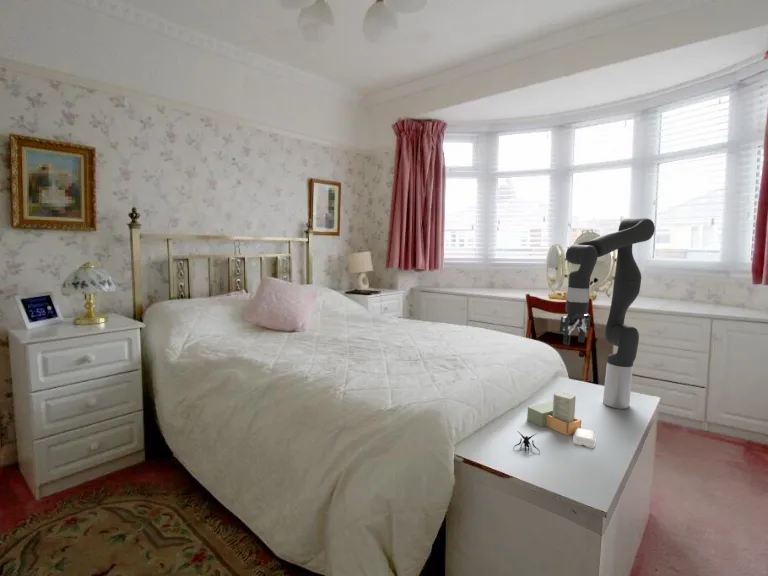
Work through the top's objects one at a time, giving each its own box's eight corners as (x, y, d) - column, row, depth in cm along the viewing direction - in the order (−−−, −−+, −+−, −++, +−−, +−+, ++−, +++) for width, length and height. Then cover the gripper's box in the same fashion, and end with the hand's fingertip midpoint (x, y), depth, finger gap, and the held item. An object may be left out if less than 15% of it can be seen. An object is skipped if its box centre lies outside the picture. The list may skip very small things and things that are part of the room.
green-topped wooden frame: (548, 413, 161) (549, 401, 161) (584, 429, 148) (585, 416, 148) (527, 420, 155) (528, 407, 154) (562, 437, 142) (563, 423, 142)
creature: (540, 461, 129) (538, 444, 136) (541, 447, 127) (540, 430, 134) (513, 457, 131) (513, 440, 138) (514, 442, 129) (514, 426, 136)
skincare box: (573, 429, 149) (576, 396, 147) (568, 433, 146) (571, 399, 144) (556, 423, 153) (559, 391, 152) (550, 426, 150) (553, 393, 149)
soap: (595, 449, 135) (596, 441, 135) (572, 444, 138) (572, 436, 138) (595, 438, 143) (596, 430, 143) (573, 433, 146) (574, 425, 146)
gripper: (580, 297, 161) (576, 339, 163) (555, 299, 154) (552, 342, 156) (598, 300, 155) (594, 343, 157) (574, 302, 148) (570, 347, 150)
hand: (573, 343), depth 157 cm, fingers open, 8 cm apart
